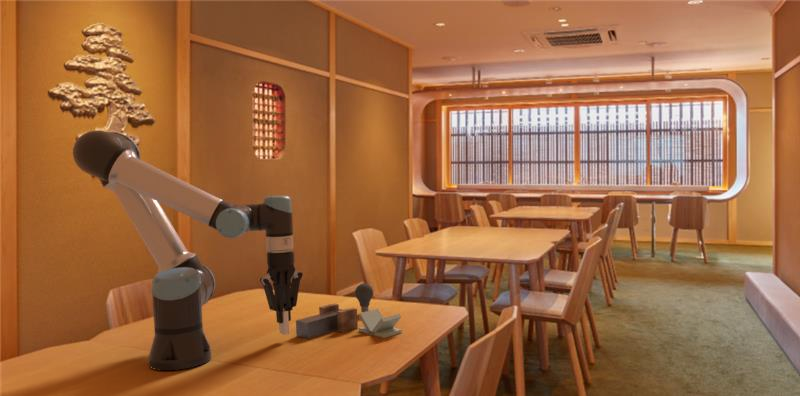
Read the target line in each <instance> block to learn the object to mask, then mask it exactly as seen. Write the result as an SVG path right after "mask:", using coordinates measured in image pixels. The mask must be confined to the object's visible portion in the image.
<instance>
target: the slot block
mask: <svg viewBox="0 0 800 396" xmlns="http://www.w3.org/2000/svg"><path fill="white" fill-rule="evenodd" d="M336 309H340V307H339V304H338V303H332V304H331V303H330V304H327V305H322V306H318V312H319V313H318V314H321V313H325V312H329V311H332V310H336ZM337 320H338V330H337V332H339V333H346V332H349V331H352V330H357V329H359V327H358V308H355V307H350V308H346V309H345V308H344V309H342V310H341V311H337Z"/></svg>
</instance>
